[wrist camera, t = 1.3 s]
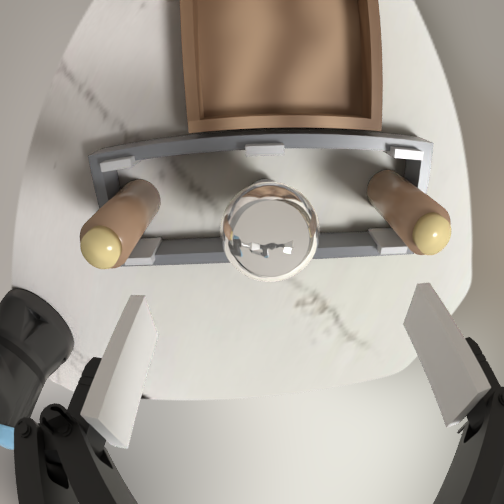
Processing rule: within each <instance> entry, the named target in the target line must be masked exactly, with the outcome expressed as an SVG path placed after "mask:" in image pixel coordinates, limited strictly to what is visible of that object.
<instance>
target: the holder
mask: <svg viewBox="0 0 504 504" xmlns="http://www.w3.org/2000/svg"><path fill="white" fill-rule="evenodd" d="M284 148H335V149H361V150H379V151H383V152H385V153H387V154H389V155H390V156H392V157H394V158H402V159H406V167H405V175H404V178H405V179H406V180H408V181H409V182H411V183H412V184H413V185H415V186H416V187H417V188H419V189H420V190H421V191H423V192H424V193H425V194H427V189H428V183H429V176H430V169H431V161H432V153H433V143H432V142H429V141H427V140H425V139H422V138H420V137H416V136H408V135H399V134H389V133H378V132H365V131H349V130H325V129H270V130H245V131H228V132H215V133H204V134H194V135H184V136H176V137H168V138H161V139H154V140H147V141H141V142H135V143H129V144H123V145H118V146H112V147H107V148H102V149H100V150H98V151H96V152H94V153H93V154H91V155H89V156H88V158H89V163H90V168H91V173H92V178H93V183H94V187H95V191H96V196H97V200H98V204H99V208H101V207H102V206H103V205H104V204H105V203H106V202H107V201H109V200H110V199H111V198H112V197H113V196H114V195H115V194H116V193H117V192H118V191H119V190H120V185H119V180H118V175H117V170H119V169H125V168H132V167H133V166H134V165H136V164H137V163H138V162H140V161H141V160H143V159H150V158H158V157H166V156H174V155H183V154H193V153H204V152H217V151H231V150H246V156H269V155H284ZM402 254H414V253H413V252H412V251H411V250H410V249H409V248H408V247H407V245H406V244H405V243H404V242H403V240H402V239H401V238H400V237H399V236H398V234H397V233H396V232H395V231H394V230H393V228H377V229H368V232H337V233H320V237H319V243H318V247H317V250H316V253H315V254H314V256H313V258H312V259H323V258H344V257H364V256H383V255H402ZM207 263H230V261H229V260H228V258H227V256H226V255H225V252H224V250H223V247H222V244H221V238H220V237H213V238H193V239H174V240H162V238H161V237H158V238H141V239H139V241H138V243H137V244H136V246H135V247H134V249H133V250H132V252H131V254H130V255H129V257H128V259H127V260H126V262H125V263H124V264H123V265H121V266H150V265H179V264H207Z"/></svg>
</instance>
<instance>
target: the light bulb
mask: <svg viewBox="0 0 504 504" xmlns="http://www.w3.org/2000/svg"><path fill="white" fill-rule="evenodd" d="M319 237H320V227H319V221H318V217H317V214H316V212H315V209H314V207H313V206H312V204H311V203H310V201H309V200H308V199H307V198H306V197H305V196H304V195H303V194H302V193H301V192H300V191H298V190H297V189H295V188H293V187H292V186H289V185H286V184H283V183H278V182H275V181H273V180H269V179H262V180H259V181H256V182H255V183H253V184H252V185H251V186H249V187H246V188H244V189H243V190H242V191H240V192H239V193H237V194H236V195H235V196H234V197H233V198H232V199H231V201H230V202H229V204H228V205H227V207H226V209H225V211H224V213H223V216H222V219H221V225H220V238H221V244H222V247H223V250H224V252H225V255H226V256H227V258H228V260H229V261H230V263H231V264H232V265H233V266H234V267H235V268H236V269H237V270H238V271H240V272H241V273H242V274H244V275H245V276H247V277H249V278H252V279H255V280H258V281H264V282H277V281H282V280H285V279H288V278H291V277H293V276H295V275H296V274H298V273H299V272H301V271H302V270H303V269H304V268H305V267H306V266H307V265H308V263H309V262H310V261H311V260H312V258H313V256H314V254H315V253H316V250H317V247H318V243H319Z"/></svg>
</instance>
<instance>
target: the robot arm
mask: <svg viewBox="0 0 504 504" xmlns="http://www.w3.org/2000/svg"><path fill="white" fill-rule="evenodd" d="M403 325H404V327H405V329H406V331H407V333H408V335H409V337H410V339H411V342H412V344H413V346H414V348H415V350H416V352H417V355H418V357H419V359H420V361H421V363H422V366H423V368H424V371H425V373H426V375H427V378H428V380H429V383H430V385H431V388H432V390H433V393H434V395H435V398H436V400H437V403H438V405H439V408H440V411H441V413H442V416H443V419H444V422H445V425H446V427H449V426H452V425H455V424H457V423H460V422H461V421H462V420H463V419H464V417H466V416H467V419H468V421H467V422H466V423H465V424H464V425H463V426H462V427H461V428H460V429H459V430H458V432H457V433H460V432H461V431H462V430H463V429H464V430H463V433H462V437H461V439H460V442H459V445H458V448H457V450H456V453H455V456H454V459H453V461H452V464H451V466H450V468H449V471H448V473H447V475H446V478H445V480H444V482H443V485H442V487H441V489H440V491H439V493H438V495H437V497H436V499H435V501H434V503H433V504H504V387H501V386H500V384H499V383H498V381H497V379H496V377H495V375H494V373H493V371H492V369H491V368H490V366H489V364H488V362H487V361H486V358H485V356H484V355H483V354H482V351H481V350H480V348H479V346H478V344H477V343H476V342H475V341H474V340H472V339H471V338H470V337H468V338H464V336H463V334H462V333H461V331H460V329H459V328H458V326H457V324H456V323H455V321H454V319H453V318H452V316H451V315H450V313H449V312H448V310H447V308H446V307H445V305H444V304H443V302H442V301H441V299H440V298H439V296H438V295H437V293H436V292H435V290H434V289H433V287H432V286H431V284H430V283H421V284H417V286H416V289H415V292H414V295H413V298H412V301H411V304H410V307H409V310H408V312H407V315H406V318H405V321H404V323H403ZM158 337H159V334H158V331H157V329H156V326H155V323H154V320H153V317H152V315H151V312H150V309H149V306H148V303H147V300H146V297H145V295H131V296H130V298H129V300H128V302H127V304H126V306H125V308H124V310H123V313H122V315H121V317H120V319H119V321H118V323H117V325H116V328H115V330H114V332H113V334H112V337H111V339H110V341H109V343H108V346H107V348H106V350H105V353H104V355H103V357H102V358H96V357H93V358H92V359H91V360H90V361H89V362H88V363H87V365H86V366H85V368H84V370H83V373H82V377H80V380H79V382H78V385H77V387H76V389H75V392H74V394H73V397H72V399H71V402H70V404H69V407H68V409H67V410H66V409H65V408H64V407H63V406H62V405H60V404H50V405H48V406H47V407H46V408H44V410H43V411H42V412H41V415H40V423H38V424H37V423H36V422H35V421H34V420H33V419H31V418H30V417H31V414H32V412H33V409H34V407H35V404H36V402H37V400H38V397H39V395H40V393H41V390H42V388H43V386H44V384H45V382H46V380H47V378H48V377H49V376H50V375H51V374H52V373H54V372H55V371H56V370H57V369H58V368H59V367H60V365H61V364H63V363H64V362H65V361H66V360H67V359H68V358H69V356H70V354H71V352H72V350H73V347H74V340H73V336H72V333H71V331H70V329H69V327H68V326H67V324H66V323H65V321H64V320H63V319H62V317H61V316H60V315H59V314H58V313H57V312H56V311H55V310H54V309H53V308H52V307H51V306H50V305H49V304H48V303H46V302H45V301H44V300H42V299H41V298H39V297H38V296H36V295H34V294H33V293H31V292H28V291H25V290H22V289H13V290H10V291H9V292H8V293H7V294H6V295H5V297H4V298H3V300H2V301H1V303H0V445H1V446H2V447H4V448H7V449H14V459H15V474H16V484H17V493H18V500H19V504H78V502H79V504H137V502H136V500H135V499H134V497H133V495H132V494H131V492H130V491H129V489H128V487H127V486H126V484H125V482H124V481H123V479H122V477H121V475H120V474H119V472H118V470H117V468H116V466H115V465H114V463H113V461H112V459H111V457H110V455H109V453H108V451H107V450H106V448H105V447H104V445H105V442H106V441H107V442H108V443H110V444H111V445H112V446H116V447H121V448H126V449H128V446H129V442H130V438H131V434H132V430H133V426H134V422H135V418H136V414H137V410H138V406H139V402H140V399H141V395H142V392H143V388H144V384H145V381H146V377H147V374H148V370H149V367H150V363H151V360H152V357H153V353H154V350H155V347H156V344H157V340H158Z"/></svg>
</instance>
